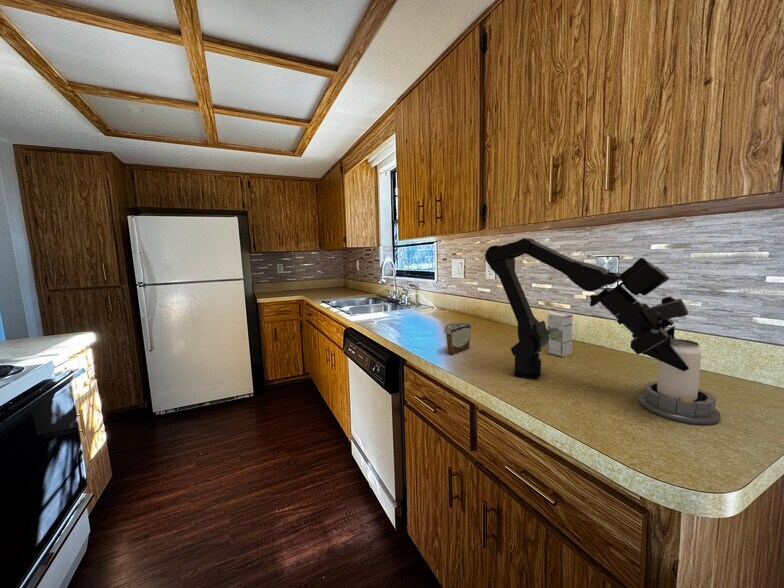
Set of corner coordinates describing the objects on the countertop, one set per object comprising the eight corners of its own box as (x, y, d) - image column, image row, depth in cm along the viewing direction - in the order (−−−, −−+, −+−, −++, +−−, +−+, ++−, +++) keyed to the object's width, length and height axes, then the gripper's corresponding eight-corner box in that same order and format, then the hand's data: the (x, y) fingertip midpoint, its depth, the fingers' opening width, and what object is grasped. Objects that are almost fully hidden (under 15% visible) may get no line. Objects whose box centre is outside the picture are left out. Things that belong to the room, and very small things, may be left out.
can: (649, 389, 71) (653, 338, 70) (680, 389, 70) (684, 337, 69) (671, 402, 65) (675, 346, 63) (706, 403, 64) (711, 346, 62)
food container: (458, 346, 121) (458, 320, 120) (471, 349, 117) (471, 323, 116) (437, 353, 114) (436, 326, 113) (450, 356, 109) (450, 328, 108)
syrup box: (572, 354, 106) (573, 312, 105) (562, 357, 103) (563, 314, 102) (556, 350, 111) (557, 310, 110) (546, 353, 108) (547, 312, 107)
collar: (645, 416, 65) (646, 395, 65) (633, 392, 76) (634, 374, 76) (732, 431, 59) (734, 408, 58) (705, 402, 70) (707, 383, 70)
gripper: (655, 289, 61) (732, 356, 54) (664, 282, 74) (727, 334, 67) (605, 323, 67) (669, 386, 61) (621, 311, 80) (675, 361, 74)
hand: (687, 365), depth 66 cm, fingers closed on can, 6 cm apart
